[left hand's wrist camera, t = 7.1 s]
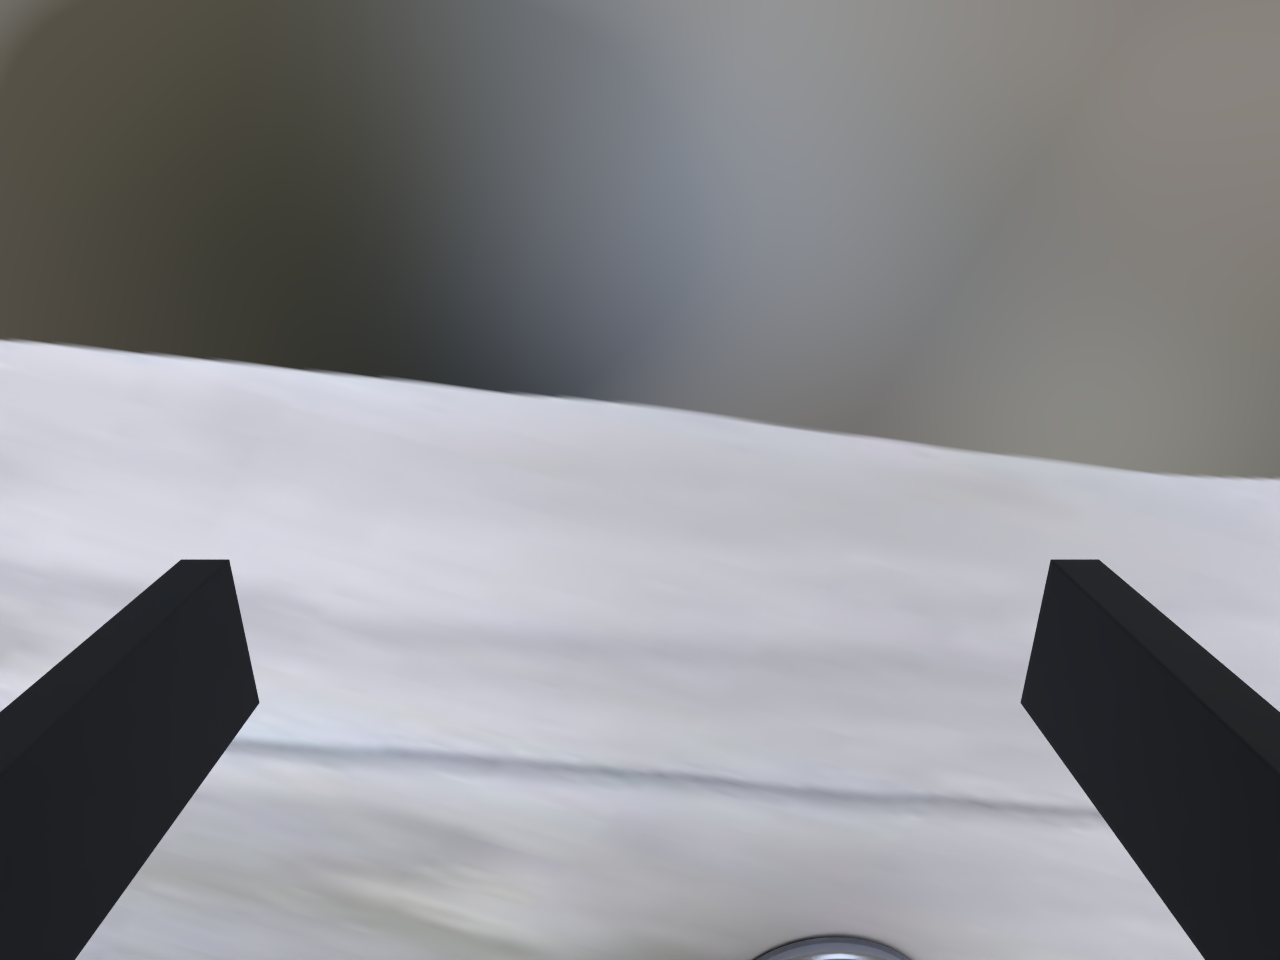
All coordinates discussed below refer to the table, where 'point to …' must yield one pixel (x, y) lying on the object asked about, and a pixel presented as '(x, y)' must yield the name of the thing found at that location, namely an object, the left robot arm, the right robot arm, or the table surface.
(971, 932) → the table surface
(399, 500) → the table surface
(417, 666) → the table surface
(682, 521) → the table surface
